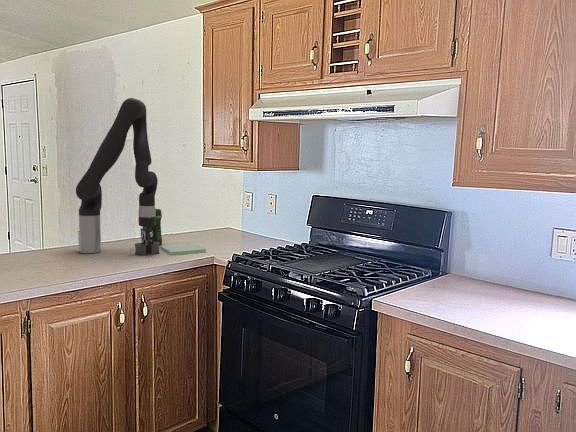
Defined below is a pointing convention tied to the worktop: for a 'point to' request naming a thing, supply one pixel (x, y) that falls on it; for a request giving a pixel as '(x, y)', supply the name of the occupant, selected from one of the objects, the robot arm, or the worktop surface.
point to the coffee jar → (157, 227)
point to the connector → (141, 248)
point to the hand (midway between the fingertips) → (147, 252)
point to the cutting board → (182, 249)
